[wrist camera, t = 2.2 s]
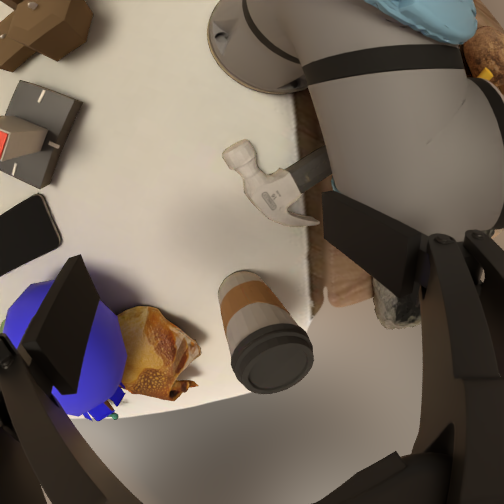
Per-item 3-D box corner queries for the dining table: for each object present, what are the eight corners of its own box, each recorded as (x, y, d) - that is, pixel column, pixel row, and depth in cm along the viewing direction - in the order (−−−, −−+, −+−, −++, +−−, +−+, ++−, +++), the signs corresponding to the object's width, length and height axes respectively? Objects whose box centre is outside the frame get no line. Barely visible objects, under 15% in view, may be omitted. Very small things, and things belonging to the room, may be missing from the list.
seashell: (85, 386, 32) (97, 329, 27) (97, 350, 39) (116, 288, 33) (185, 420, 38) (228, 377, 32) (187, 384, 44) (227, 334, 38)
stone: (488, 197, 34) (468, 209, 44) (358, 270, 42) (356, 270, 51) (517, 274, 31) (494, 273, 41) (391, 352, 39) (384, 338, 48)
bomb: (35, 292, 32) (93, 393, 34) (-36, 324, 17) (46, 453, 19) (107, 245, 31) (174, 369, 33) (22, 268, 16) (137, 450, 18)
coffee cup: (197, 297, 37) (218, 385, 23) (237, 250, 35) (280, 325, 22) (243, 323, 40) (278, 403, 27) (281, 281, 39) (333, 354, 26)
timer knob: (6, 136, 18) (-37, 144, 11) (13, 115, 18) (-29, 116, 11) (40, 151, 21) (0, 162, 14) (48, 129, 20) (9, 133, 13)
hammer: (394, 61, 29) (217, 153, 30) (409, 59, 27) (223, 155, 27) (421, 138, 36) (273, 241, 36) (436, 141, 33) (283, 251, 33)
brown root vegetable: (544, 76, 19) (507, 11, 15) (533, 113, 22) (492, 35, 18) (499, 80, 33) (463, 26, 29) (479, 113, 36) (439, 52, 32)
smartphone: (62, 246, 28) (-9, 281, 25) (63, 244, 28) (-7, 279, 26) (39, 191, 24) (-31, 236, 22) (41, 190, 25) (-29, 235, 23)
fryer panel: (27, 81, 19) (15, 78, 16) (87, 104, 23) (79, 101, 20) (-2, 159, 21) (-15, 163, 18) (54, 185, 25) (43, 191, 23)
